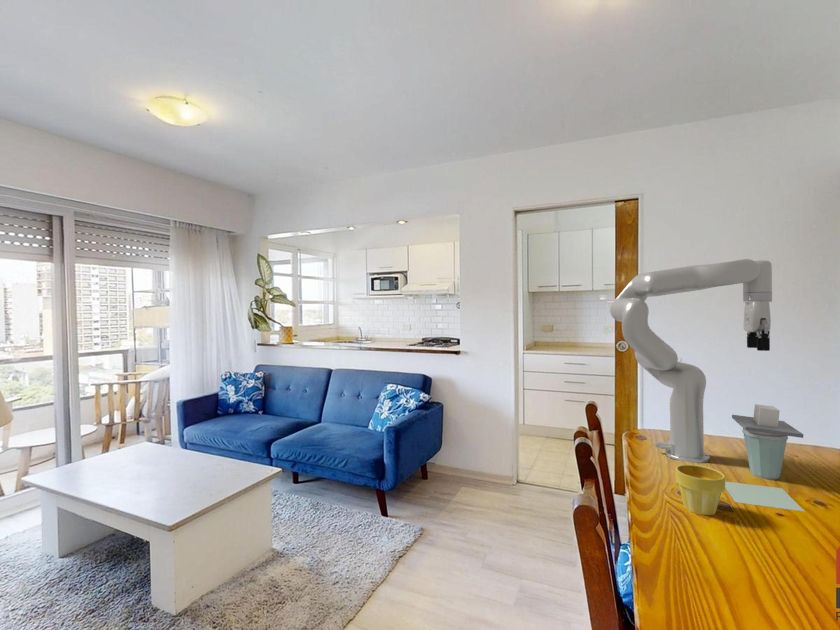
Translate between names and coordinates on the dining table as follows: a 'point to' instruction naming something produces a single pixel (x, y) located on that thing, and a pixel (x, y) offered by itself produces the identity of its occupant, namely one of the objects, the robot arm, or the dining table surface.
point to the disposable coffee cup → (765, 453)
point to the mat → (761, 496)
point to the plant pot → (700, 488)
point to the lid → (766, 422)
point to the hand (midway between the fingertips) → (757, 349)
